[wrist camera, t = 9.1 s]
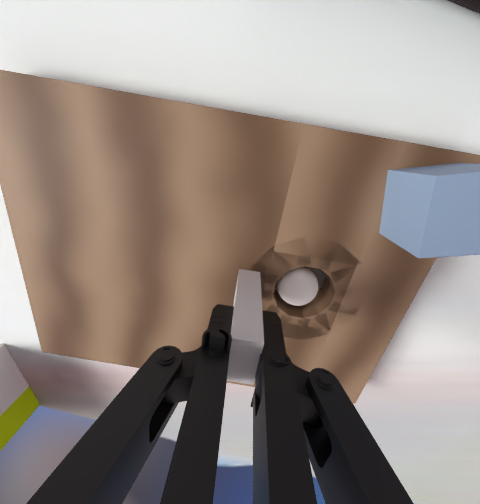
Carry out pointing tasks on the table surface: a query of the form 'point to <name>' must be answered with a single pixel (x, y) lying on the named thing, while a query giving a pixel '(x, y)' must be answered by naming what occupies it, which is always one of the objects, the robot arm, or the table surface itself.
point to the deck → (199, 224)
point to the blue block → (433, 210)
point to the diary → (469, 4)
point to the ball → (298, 286)
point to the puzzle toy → (13, 397)
